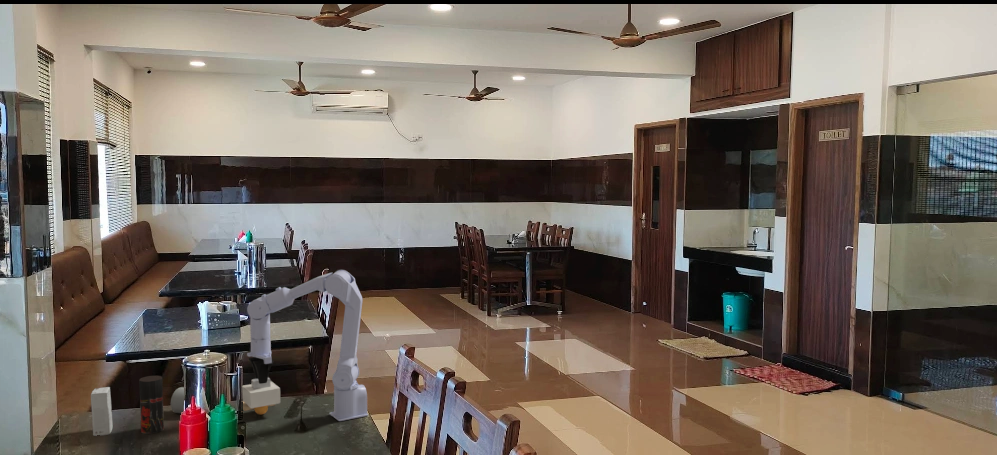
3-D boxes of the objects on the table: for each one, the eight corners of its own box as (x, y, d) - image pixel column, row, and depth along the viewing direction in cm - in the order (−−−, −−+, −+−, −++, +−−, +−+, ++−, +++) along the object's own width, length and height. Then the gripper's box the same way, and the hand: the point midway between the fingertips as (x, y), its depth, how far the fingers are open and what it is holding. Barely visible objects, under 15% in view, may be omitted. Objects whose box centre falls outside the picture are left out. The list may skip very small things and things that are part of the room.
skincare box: (109, 434, 207) (108, 392, 206) (91, 436, 206) (90, 394, 205) (113, 427, 213) (111, 386, 212) (95, 429, 212) (94, 387, 211)
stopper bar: (273, 404, 235) (273, 396, 234) (275, 405, 233) (275, 397, 233) (234, 410, 228) (234, 403, 228) (236, 412, 227) (236, 404, 226)
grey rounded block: (194, 418, 221) (193, 393, 221) (170, 416, 223) (169, 391, 222) (215, 407, 232) (214, 383, 231) (191, 405, 233) (191, 381, 233)
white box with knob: (271, 395, 231) (270, 373, 230) (280, 403, 223) (279, 380, 223) (242, 400, 226) (242, 378, 225) (250, 408, 218) (250, 385, 218)
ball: (265, 410, 228) (265, 397, 227) (269, 415, 225) (269, 403, 224) (252, 412, 226) (252, 400, 225) (256, 417, 223) (256, 405, 222)
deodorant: (167, 429, 211) (165, 378, 210) (146, 435, 207) (144, 382, 206) (158, 424, 215) (157, 374, 214) (137, 429, 211) (135, 378, 210)
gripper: (240, 334, 227) (241, 377, 228) (254, 344, 215) (255, 390, 216) (263, 331, 231) (264, 374, 232) (278, 341, 219) (279, 386, 220)
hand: (261, 381), depth 224 cm, fingers closed on white box with knob, 2 cm apart
